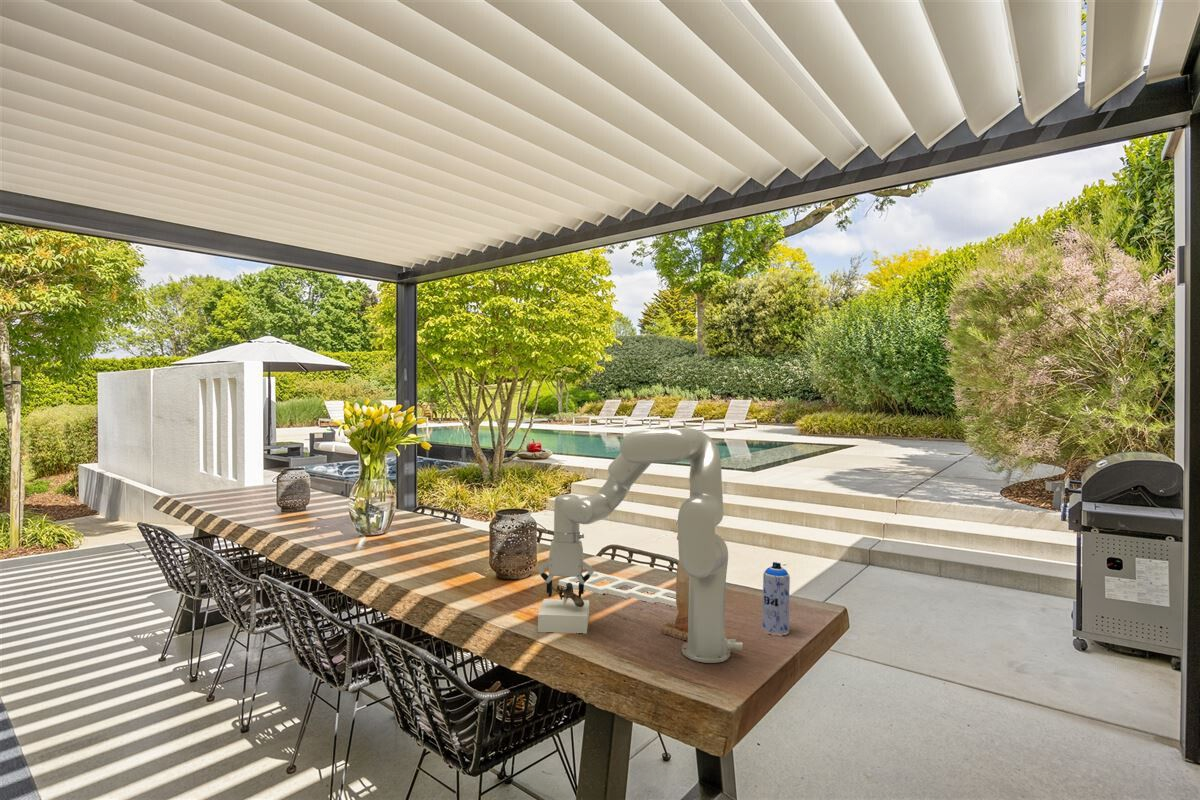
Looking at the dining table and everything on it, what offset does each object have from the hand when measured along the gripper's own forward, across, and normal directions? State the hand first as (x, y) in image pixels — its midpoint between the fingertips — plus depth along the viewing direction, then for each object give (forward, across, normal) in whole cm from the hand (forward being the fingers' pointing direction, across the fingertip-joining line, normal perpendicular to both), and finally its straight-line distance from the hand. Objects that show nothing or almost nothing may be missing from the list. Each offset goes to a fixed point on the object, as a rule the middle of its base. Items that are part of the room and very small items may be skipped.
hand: (565, 595), depth 179 cm
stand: (+8, 0, 0) cm, 8 cm away
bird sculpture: (+9, -36, +4) cm, 37 cm away
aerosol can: (+9, -62, 0) cm, 62 cm away
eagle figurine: (+2, -1, +1) cm, 3 cm away
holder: (+9, -18, -30) cm, 36 cm away
